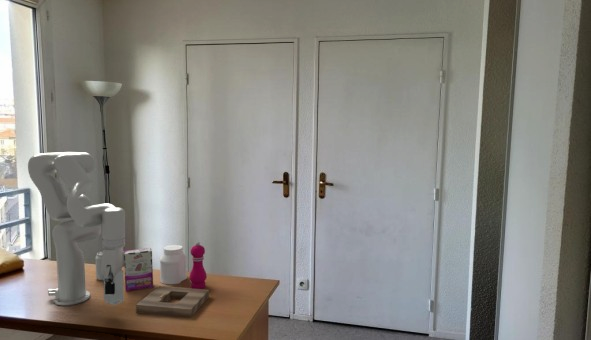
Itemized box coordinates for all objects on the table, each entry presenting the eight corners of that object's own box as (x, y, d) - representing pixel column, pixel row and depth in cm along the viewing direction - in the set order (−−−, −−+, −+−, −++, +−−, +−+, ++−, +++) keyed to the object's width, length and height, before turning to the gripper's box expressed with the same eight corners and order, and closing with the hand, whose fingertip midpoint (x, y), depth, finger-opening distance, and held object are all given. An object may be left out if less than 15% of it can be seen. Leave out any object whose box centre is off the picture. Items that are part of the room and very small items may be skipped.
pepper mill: (202, 290, 170) (201, 244, 168) (186, 289, 172) (185, 243, 170) (209, 284, 177) (209, 240, 175) (194, 282, 179) (193, 238, 177)
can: (109, 281, 179) (108, 255, 178) (92, 281, 179) (91, 255, 178) (117, 275, 186) (116, 250, 185) (101, 275, 186) (100, 249, 185)
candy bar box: (152, 283, 177) (151, 247, 176) (153, 287, 173) (152, 250, 171) (124, 287, 173) (123, 250, 171) (125, 291, 168) (123, 253, 167)
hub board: (190, 317, 147) (190, 308, 146) (136, 312, 150) (135, 303, 149) (208, 296, 164) (208, 288, 164) (159, 292, 167) (159, 285, 167)
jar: (171, 274, 189) (171, 243, 187) (189, 276, 186) (189, 245, 185) (156, 283, 178) (156, 250, 176) (175, 285, 175) (175, 252, 174)
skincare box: (123, 301, 148) (124, 270, 146) (113, 306, 144) (113, 274, 142) (113, 297, 151) (114, 266, 149) (103, 301, 147) (103, 269, 146)
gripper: (111, 234, 152) (110, 279, 155) (93, 250, 135) (93, 300, 138) (131, 235, 153) (131, 279, 156) (116, 250, 136) (116, 300, 139)
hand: (113, 288), depth 147 cm, fingers closed on skincare box, 6 cm apart
